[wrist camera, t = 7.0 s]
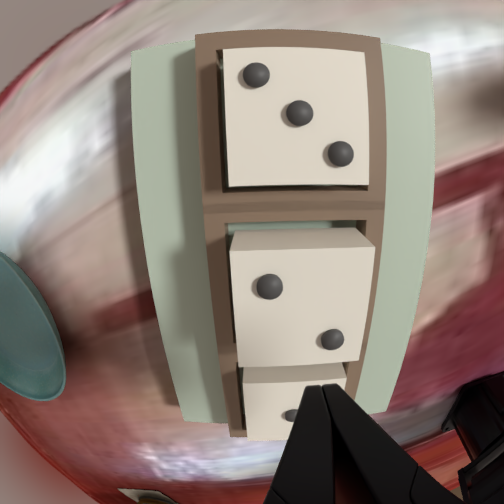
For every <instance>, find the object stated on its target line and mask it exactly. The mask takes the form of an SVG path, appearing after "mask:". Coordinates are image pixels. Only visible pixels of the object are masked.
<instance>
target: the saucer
mask: <svg viewBox="0 0 504 504" xmlns="http://www.w3.org/2000/svg"><path fill="white" fill-rule="evenodd" d="M0 383H2V384H3V385H5V386H6V387H7V388H9V389H11V390H12V391H14V392H15V393H17V394H19V395H21V396H23V397H26V398H29V399H33V400H37V401H49V400H52V399H55V398H57V397H58V396H59V395H60V394H61V393H62V392H63V390H64V387H65V384H66V362H65V355H64V350H63V346H62V342H61V338H60V335H59V332H58V329H57V327H56V324H55V321H54V319H53V316H52V314H51V312H50V309H49V307H48V306H47V304H46V302H45V300H44V298H43V297H42V295H41V293H40V292H39V290H38V289H37V287H36V286H35V284H34V283H33V282H32V281H31V279H30V278H29V277H28V276H27V275H26V274H25V273H24V271H23V270H22V269H21V268H20V267H19V266H18V265H16V264H15V263H14V262H13V261H12V260H11V259H10V258H8V257H7V256H6V255H4V254H3V253H2V252H0Z"/></svg>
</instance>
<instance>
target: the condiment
mask: <svg viewBox="0 0 504 504" xmlns="http://www.w3.org/2000/svg"><path fill="white" fill-rule="evenodd" d="M118 490H120V491H121V492H122V493H124V494H125V495H126V496H128V497H130V498H131V499H133V500H134V501H136V502H138V503H137V504H178V503H175V502H174V501H173V500H171V499H170V498H168V497H167V496H164V495H163V494H162V493H160V492H158V491H150V490H135V489H118ZM138 495H139V497H138ZM165 499H166V500H165Z"/></svg>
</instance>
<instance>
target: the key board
mask: <svg viewBox="0 0 504 504" xmlns="http://www.w3.org/2000/svg"><path fill="white" fill-rule="evenodd" d="M253 47H305V48H324V49H337V50H347V51H356V52H364V54H365V65H366V77H367V92H368V113H369V185H338V184H304V185H257V186H231V187H229V178H228V159H227V138H226V116H225V91H224V64H223V49H234V48H253ZM131 110H132V133H133V149H134V162H135V173H136V184H137V193H138V202H139V211H140V219H141V226H142V233H143V240H144V247H145V253H146V260H147V266H148V271H149V277H150V283H151V288H152V293H153V298H154V303H155V308H156V313H157V318H158V323H159V327H160V332H161V336H162V340H163V345H164V349H165V353H166V357H167V361H168V365H169V369H170V373H171V376H172V380H173V384H174V387H175V391H176V395H177V398H178V401H179V405H180V408H181V412H182V415H183V418H184V421H189V422H204V423H228V426H229V432H230V437H247V427H246V416H245V405H244V394H243V371H244V367H239V366H238V355H237V343H236V331H235V319H234V306H233V293H232V279H231V265H230V248H231V244H232V240H233V237H234V233H235V230H262V229H300V228H354V227H355V228H356V229H357V230H358V231H359V232H360V233H361V234H362V235H364V236H365V237H366V238H367V239H368V240H369V241H370V242H371V243H372V244H373V245H374V246H375V256H374V265H373V274H372V282H371V290H370V297H369V304H368V311H367V317H366V323H365V329H364V335H363V340H362V346H361V351H360V356H359V360H358V361H348V362H342V365H343V368H344V371H345V374H346V377H347V379H346V384H345V389H344V391H345V392H346V393H347V394H348V395H349V396H350V397H351V398H352V399H353V400H354V401H355V402H356V403H357V404H358V405H359V406H360V407H361V408H362V409H363V410H364V411H365V412H366V413H367V414H373V413H379V412H385V411H386V409H387V407H388V404H389V401H390V399H391V396H392V393H393V390H394V387H395V384H396V381H397V378H398V375H399V372H400V369H401V365H402V362H403V359H404V355H405V352H406V348H407V345H408V341H409V337H410V333H411V329H412V325H413V321H414V317H415V313H416V308H417V304H418V299H419V294H420V289H421V284H422V279H423V273H424V267H425V261H426V255H427V248H428V241H429V233H430V225H431V215H432V204H433V191H434V172H435V112H434V94H433V81H432V71H431V62H430V54H429V53H426V52H422V51H418V50H414V49H409V48H405V47H400V46H395V45H389V44H384V43H380V38H377V37H370V36H364V35H356V34H348V33H339V32H328V31H314V30H286V29H268V30H240V31H226V32H215V33H205V34H197V35H195V40H190V41H183V42H176V43H170V44H165V45H159V46H154V47H149V48H144V49H140V50H135V51H131Z"/></svg>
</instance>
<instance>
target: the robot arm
mask: <svg viewBox="0 0 504 504" xmlns="http://www.w3.org/2000/svg"><path fill="white" fill-rule="evenodd" d="M453 429H455V430H456V432H457V434H458V436H459V438H460V440H461V442H462V444H463V446H464V448H465V450H466V452H467V454H468V456H469V458H470V460H471V463H469V464H468V465H467V466H465V467H464V468H461V469H460V470H458V475H459V476H458V477H459V478H458V480H459V483H460V487H461V492H462V495H463V500H464V501H462V500H461V499H460V498H458V497H457V496H455V495H454V494H453V493H451V492H450V491H449V490H447V489H446V488H445V487H443V486H442V485H441V484H440V483H439V482H438V481H436V480H435V479H434V478H433V477H432V476H431V475H430V474H429V473H428V472H426V471H425V470H424V469H423V468H422V467H421V466H418V463H417V462H416V461H415V460H414V459H413V458H412V457H411V456H410V455H409V454H408V453H407V452H406V451H404V450H403V449H402V448H401V447H400V446H399V445H398V444H397V443H396V442H395V441H394V440H393V439H392V438H391V437H390V436H389V435H388V434H387V433H386V432H385V431H384V430H383V429H382V428H381V427H380V426H379V425H378V424H377V423H376V422H375V421H374V420H373V419H372V418H371V417H370V416H369V415H368V414H367V413H366V412H365V411H364V410H363V409H362V408H361V407H360V406H359V405H358V404H357V403H356V402H355V401H354V400H353V399H352V398H351V397H350V396H349V395H348V394H347V393H346V392H345V391H344V390H343V389H342V388H341V387H340V386H339V385H338V384H337V383H332V384H323V385H322V386H321V385H308V386H306V387H305V389H304V392H303V395H302V398H301V401H300V404H299V407H298V411H297V414H296V417H295V420H294V423H293V426H292V429H291V431H290V434H289V437H288V440H287V443H286V446H285V449H284V451H283V454H282V457H281V459H280V462H279V465H278V467H277V470H276V473H275V475H274V478H273V480H272V483H271V485H270V489H269V490H268V492H267V495H266V497H265V500H264V502H263V504H504V372H502V373H500V374H497V375H494V376H491V377H488V378H485V379H482V380H479V381H476V382H473V383H470V384H467V385H465V386H464V387H463V388H462V390H461V392H460V394H459V396H458V398H457V400H456V402H455V404H454V406H453V407H452V409H451V411H450V413H449V415H448V417H447V419H446V420H445V422H444V424H443V426H442V427H441V430H442V432H447V431H450V430H453Z"/></svg>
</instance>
